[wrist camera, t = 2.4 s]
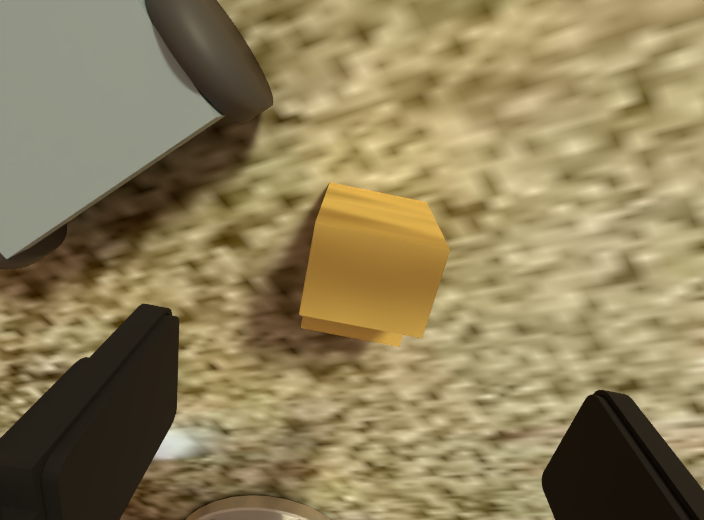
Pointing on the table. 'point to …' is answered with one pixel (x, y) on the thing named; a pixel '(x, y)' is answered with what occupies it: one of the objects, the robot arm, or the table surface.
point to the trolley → (106, 102)
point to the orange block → (372, 266)
